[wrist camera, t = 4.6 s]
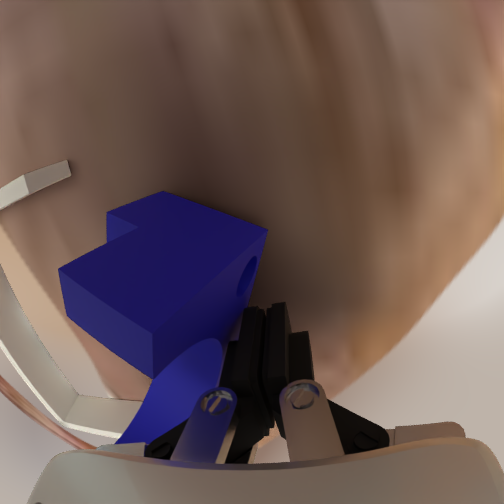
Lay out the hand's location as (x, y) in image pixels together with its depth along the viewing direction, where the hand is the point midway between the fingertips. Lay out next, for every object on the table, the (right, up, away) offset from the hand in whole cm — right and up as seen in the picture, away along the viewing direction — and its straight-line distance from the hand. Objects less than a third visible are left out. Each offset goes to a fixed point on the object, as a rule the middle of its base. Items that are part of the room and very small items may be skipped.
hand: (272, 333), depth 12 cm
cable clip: (-4, 0, +2) cm, 4 cm away
